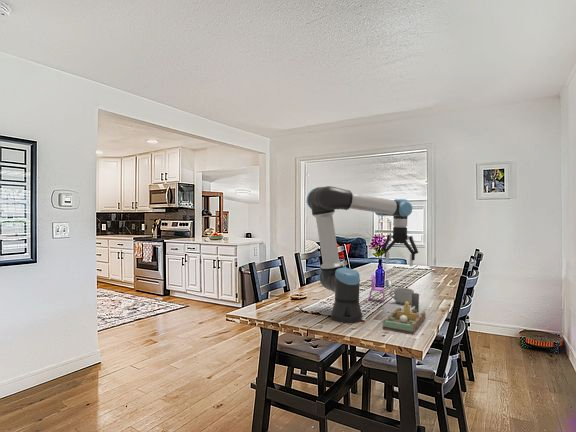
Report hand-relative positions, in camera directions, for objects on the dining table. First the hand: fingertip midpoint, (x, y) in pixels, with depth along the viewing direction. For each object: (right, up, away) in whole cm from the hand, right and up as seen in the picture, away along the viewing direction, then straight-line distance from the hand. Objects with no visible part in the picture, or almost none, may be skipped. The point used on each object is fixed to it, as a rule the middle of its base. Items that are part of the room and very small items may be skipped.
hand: (399, 264), depth 206 cm
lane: (-7, -23, -33) cm, 41 cm away
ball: (-9, -20, -37) cm, 43 cm away
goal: (-12, -22, -42) cm, 49 cm away
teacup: (+3, -23, +6) cm, 24 cm away
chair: (-10, -23, +11) cm, 27 cm away
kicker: (-1, -22, -23) cm, 31 cm away
